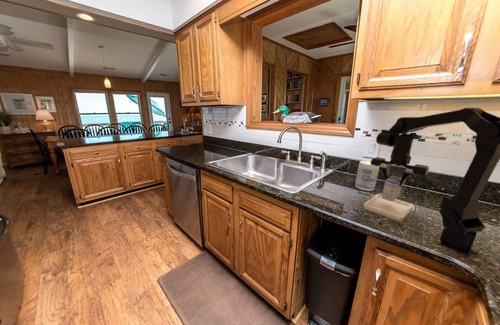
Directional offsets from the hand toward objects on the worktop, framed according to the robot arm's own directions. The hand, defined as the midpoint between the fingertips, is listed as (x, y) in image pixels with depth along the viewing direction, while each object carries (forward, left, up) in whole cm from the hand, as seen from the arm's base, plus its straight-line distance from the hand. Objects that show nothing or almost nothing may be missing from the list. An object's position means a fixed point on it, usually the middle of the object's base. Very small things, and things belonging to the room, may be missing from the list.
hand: (393, 184), depth 82 cm
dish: (0, 0, -11) cm, 11 cm away
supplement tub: (+16, -17, -12) cm, 26 cm away
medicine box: (0, 0, -6) cm, 6 cm away
